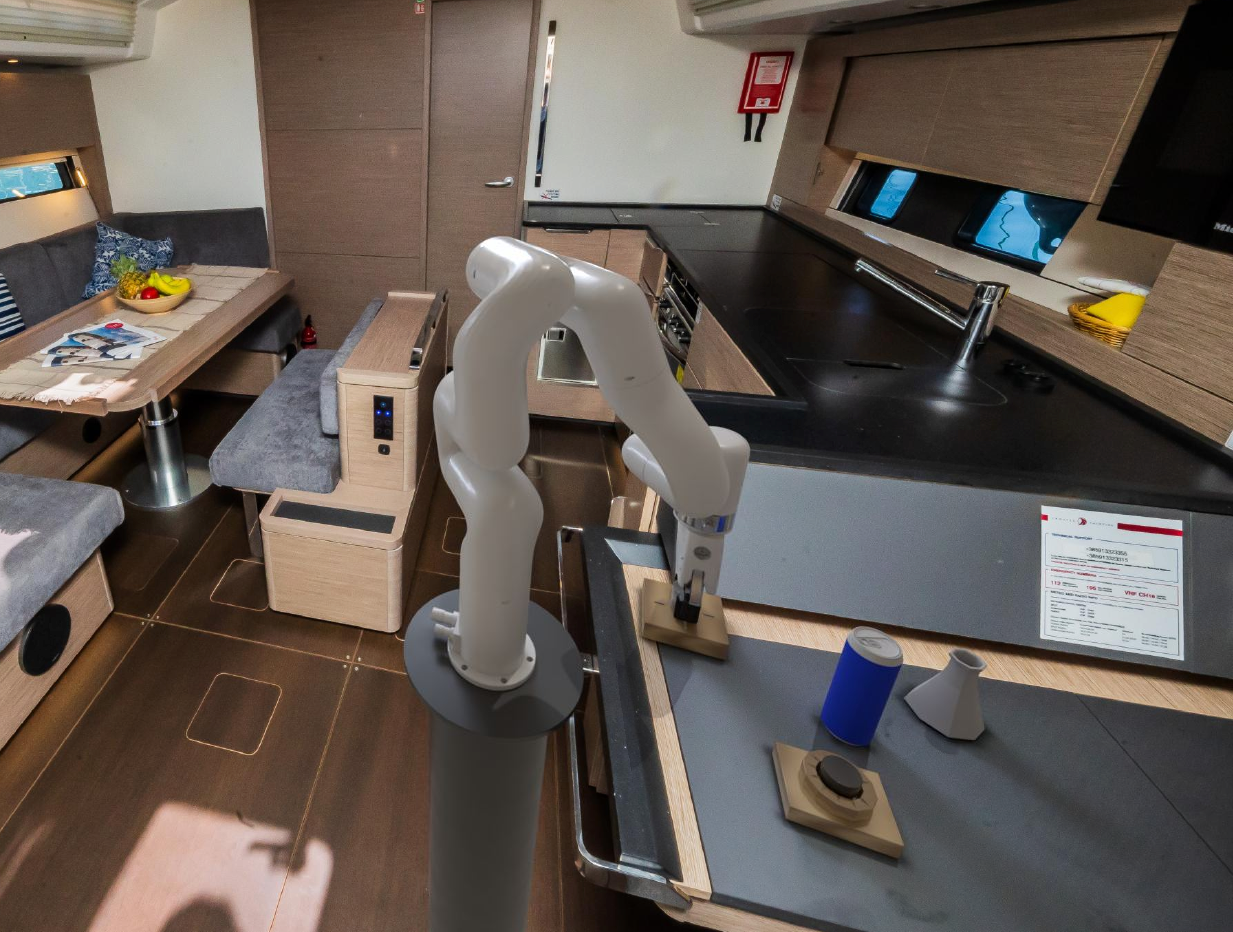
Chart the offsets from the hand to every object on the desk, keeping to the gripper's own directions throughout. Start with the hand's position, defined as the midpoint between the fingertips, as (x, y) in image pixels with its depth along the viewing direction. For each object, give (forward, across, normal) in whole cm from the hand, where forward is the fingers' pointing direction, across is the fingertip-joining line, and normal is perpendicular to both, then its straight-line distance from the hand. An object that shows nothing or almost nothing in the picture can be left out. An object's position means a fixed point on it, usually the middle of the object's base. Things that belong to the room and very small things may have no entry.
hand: (684, 607), depth 91 cm
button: (0, -22, -14) cm, 26 cm away
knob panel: (+3, 0, 0) cm, 3 cm away
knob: (0, 0, 0) cm, 0 cm away
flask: (+4, -4, -30) cm, 30 cm away
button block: (+3, -22, -14) cm, 26 cm away
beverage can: (+4, -11, -18) cm, 21 cm away
